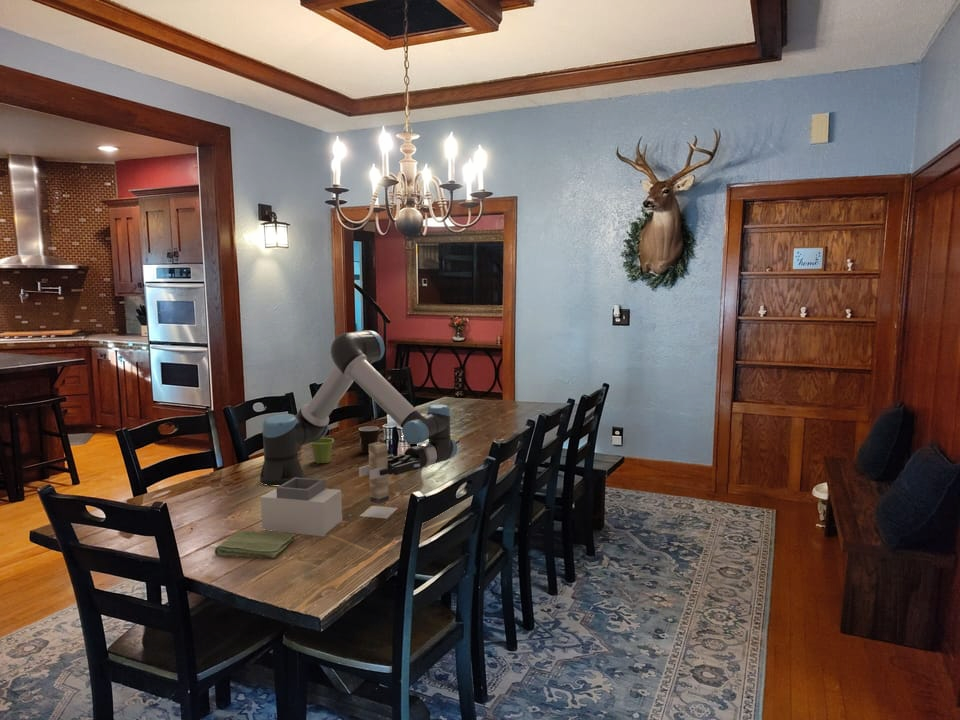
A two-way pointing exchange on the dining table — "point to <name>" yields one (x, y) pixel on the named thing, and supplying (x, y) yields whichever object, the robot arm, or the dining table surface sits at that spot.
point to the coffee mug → (368, 437)
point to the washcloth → (254, 544)
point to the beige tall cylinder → (381, 483)
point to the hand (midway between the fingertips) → (365, 473)
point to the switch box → (302, 507)
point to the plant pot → (322, 450)
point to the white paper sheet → (378, 512)
